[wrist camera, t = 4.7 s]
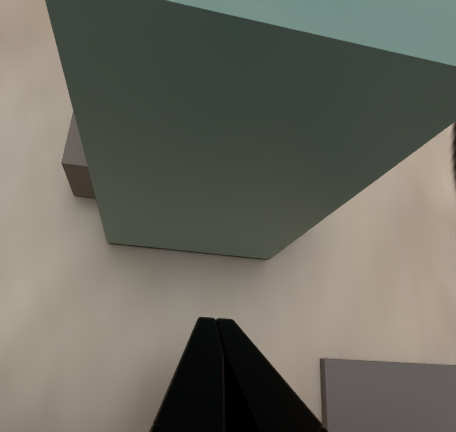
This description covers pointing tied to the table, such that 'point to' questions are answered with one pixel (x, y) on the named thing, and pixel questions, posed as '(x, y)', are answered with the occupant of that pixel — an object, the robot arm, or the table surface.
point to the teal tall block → (248, 110)
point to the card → (387, 396)
